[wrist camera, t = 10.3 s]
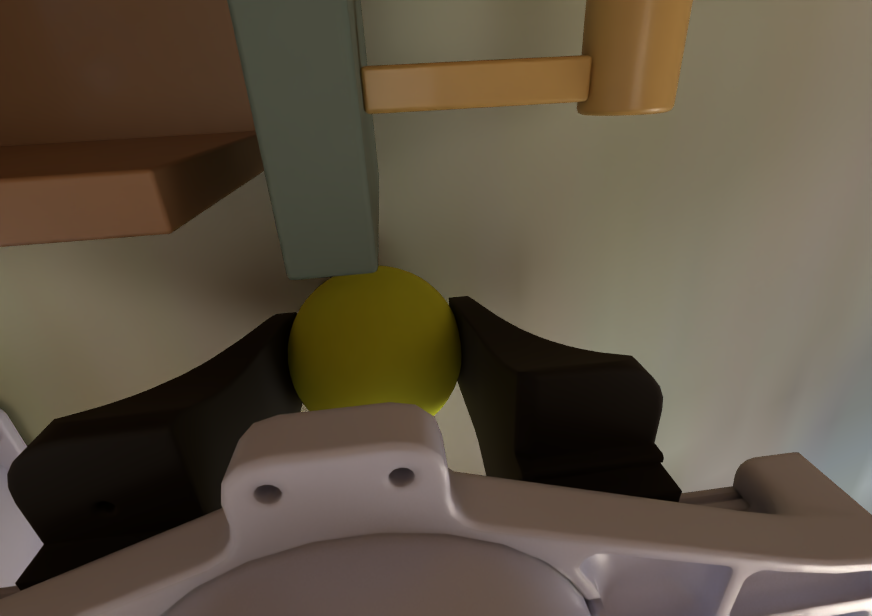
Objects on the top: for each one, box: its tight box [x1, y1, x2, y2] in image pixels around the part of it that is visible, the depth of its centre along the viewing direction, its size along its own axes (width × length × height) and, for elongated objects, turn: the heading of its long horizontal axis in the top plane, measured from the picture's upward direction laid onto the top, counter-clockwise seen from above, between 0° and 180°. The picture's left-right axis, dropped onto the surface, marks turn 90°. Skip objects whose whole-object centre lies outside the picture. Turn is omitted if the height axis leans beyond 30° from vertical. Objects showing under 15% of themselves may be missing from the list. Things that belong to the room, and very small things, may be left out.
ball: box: [288, 266, 461, 416], centre depth 13 cm, size 5×5×5 cm
